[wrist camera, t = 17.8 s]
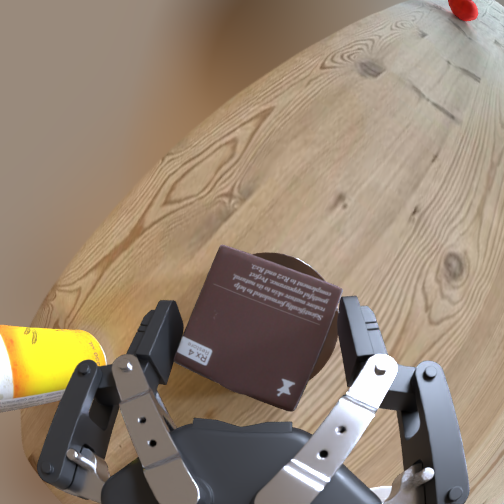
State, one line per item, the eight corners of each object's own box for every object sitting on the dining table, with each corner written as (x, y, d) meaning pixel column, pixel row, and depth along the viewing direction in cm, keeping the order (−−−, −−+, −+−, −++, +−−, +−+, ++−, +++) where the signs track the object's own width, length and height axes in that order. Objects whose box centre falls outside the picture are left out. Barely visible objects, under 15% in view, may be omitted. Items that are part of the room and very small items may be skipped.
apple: (445, 5, 32) (451, -15, 24) (472, 21, 30) (480, 2, 23) (443, 12, 30) (450, -10, 23) (473, 30, 29) (482, 9, 22)
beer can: (87, 317, 23) (-46, 298, 8) (122, 368, 21) (-19, 390, 7) (59, 353, 22) (-60, 351, 8) (90, 401, 21) (-33, 430, 6)
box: (325, 300, 18) (348, 288, 11) (292, 381, 17) (295, 416, 10) (243, 269, 20) (219, 240, 13) (210, 347, 19) (169, 361, 12)
